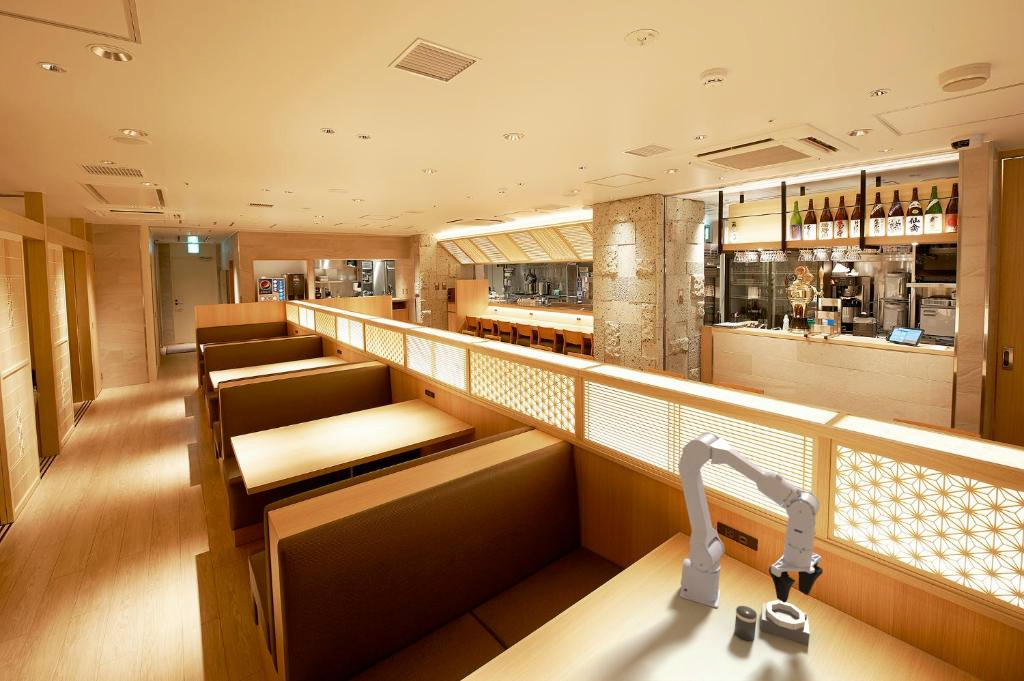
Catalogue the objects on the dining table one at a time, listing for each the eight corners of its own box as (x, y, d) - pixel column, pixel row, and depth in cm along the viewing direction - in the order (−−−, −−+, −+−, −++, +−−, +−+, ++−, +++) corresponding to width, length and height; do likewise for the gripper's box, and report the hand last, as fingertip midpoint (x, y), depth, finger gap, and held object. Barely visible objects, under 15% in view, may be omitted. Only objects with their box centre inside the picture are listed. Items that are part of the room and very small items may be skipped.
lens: (733, 637, 118) (735, 614, 117) (734, 625, 122) (736, 603, 121) (754, 644, 116) (757, 621, 115) (755, 632, 120) (757, 609, 119)
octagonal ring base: (760, 631, 120) (762, 614, 119) (761, 612, 127) (762, 596, 126) (808, 646, 115) (810, 629, 115) (806, 625, 122) (808, 608, 122)
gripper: (792, 558, 110) (786, 614, 112) (836, 546, 116) (829, 599, 118) (765, 542, 117) (760, 595, 119) (807, 531, 122) (801, 582, 124)
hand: (792, 596), depth 119 cm, fingers open, 7 cm apart
